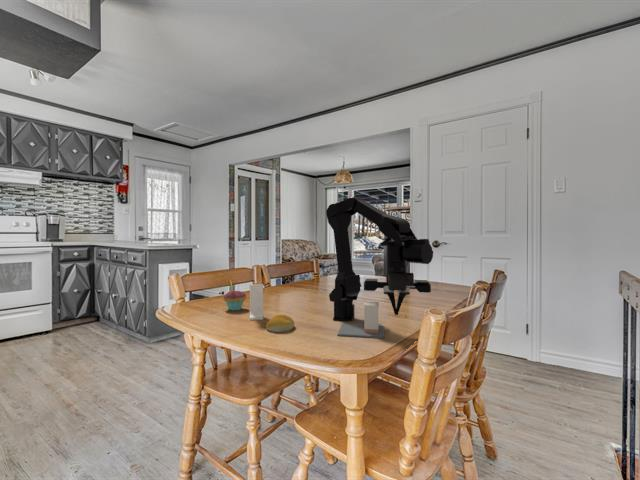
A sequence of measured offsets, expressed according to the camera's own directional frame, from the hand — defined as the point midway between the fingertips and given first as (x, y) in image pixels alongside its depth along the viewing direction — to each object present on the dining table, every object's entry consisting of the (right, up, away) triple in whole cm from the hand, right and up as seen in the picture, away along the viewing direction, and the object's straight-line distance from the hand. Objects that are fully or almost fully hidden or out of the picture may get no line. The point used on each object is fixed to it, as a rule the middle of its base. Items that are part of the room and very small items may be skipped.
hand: (396, 314), depth 99 cm
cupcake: (-55, -5, +32) cm, 64 cm away
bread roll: (-35, -6, +6) cm, 36 cm away
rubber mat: (-10, -5, +2) cm, 12 cm away
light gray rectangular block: (-45, -5, +19) cm, 48 cm away
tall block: (-7, -5, +1) cm, 9 cm away
